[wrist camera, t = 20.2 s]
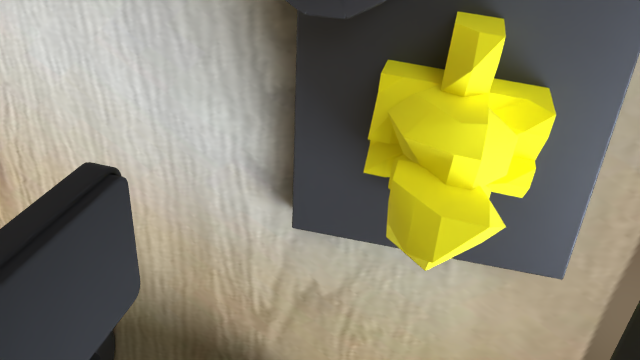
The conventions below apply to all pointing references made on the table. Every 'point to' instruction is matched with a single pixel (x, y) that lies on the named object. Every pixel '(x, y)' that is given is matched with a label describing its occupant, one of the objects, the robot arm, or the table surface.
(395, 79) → the yellow crystal cluster
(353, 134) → the scale
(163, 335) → the table surface
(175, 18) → the table surface
